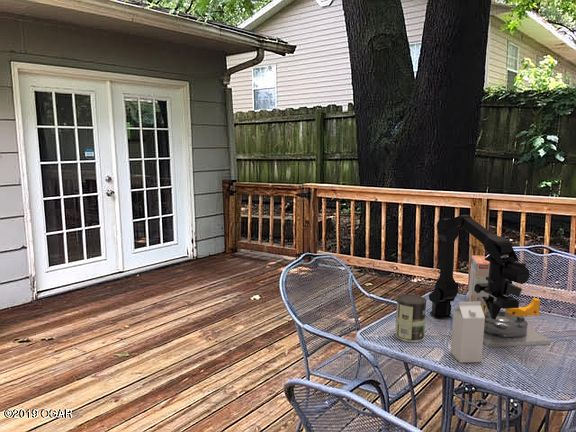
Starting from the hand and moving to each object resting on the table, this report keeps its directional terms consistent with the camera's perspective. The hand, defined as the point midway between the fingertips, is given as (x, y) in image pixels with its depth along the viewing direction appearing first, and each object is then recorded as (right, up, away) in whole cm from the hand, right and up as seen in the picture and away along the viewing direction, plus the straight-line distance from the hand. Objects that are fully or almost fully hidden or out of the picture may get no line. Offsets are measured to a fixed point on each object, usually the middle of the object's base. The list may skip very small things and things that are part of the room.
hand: (493, 318), depth 166 cm
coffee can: (-28, -8, +5) cm, 30 cm away
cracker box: (+8, -3, +35) cm, 36 cm away
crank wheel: (+7, -5, +9) cm, 12 cm away
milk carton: (-14, -10, -11) cm, 21 cm away
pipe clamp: (+24, -4, +27) cm, 36 cm away
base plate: (+7, -7, +9) cm, 13 cm away
